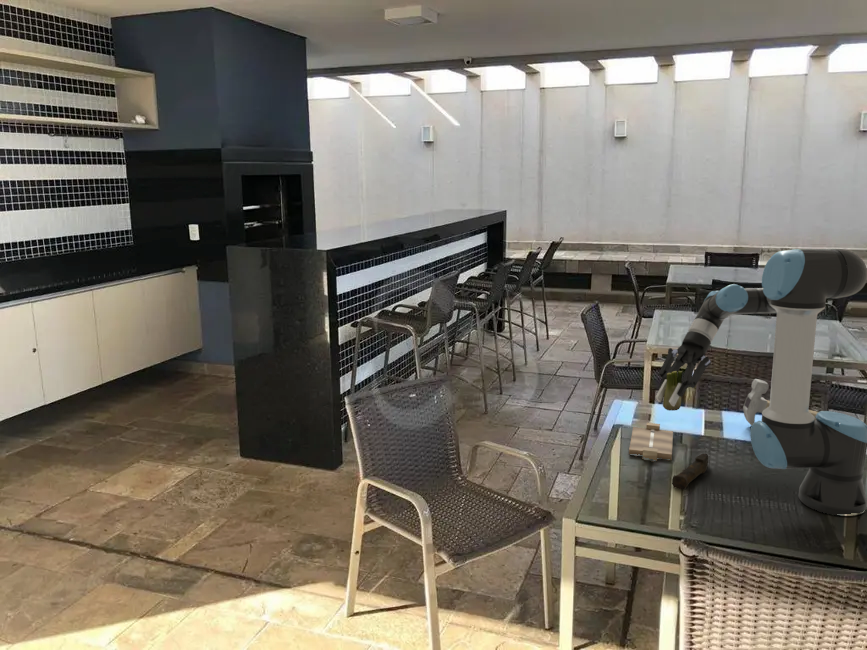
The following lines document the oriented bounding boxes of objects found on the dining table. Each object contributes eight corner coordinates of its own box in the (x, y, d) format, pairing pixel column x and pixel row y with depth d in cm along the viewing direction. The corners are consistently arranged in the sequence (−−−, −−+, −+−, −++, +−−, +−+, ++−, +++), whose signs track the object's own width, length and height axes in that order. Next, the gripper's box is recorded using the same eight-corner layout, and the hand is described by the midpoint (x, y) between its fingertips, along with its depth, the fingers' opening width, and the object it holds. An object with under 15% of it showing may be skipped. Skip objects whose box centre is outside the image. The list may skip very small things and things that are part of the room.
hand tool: (685, 492, 186) (686, 476, 184) (670, 487, 188) (672, 471, 187) (716, 469, 198) (717, 454, 197) (702, 465, 201) (704, 450, 200)
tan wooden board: (671, 463, 202) (672, 453, 201) (628, 458, 206) (628, 448, 205) (672, 434, 222) (673, 425, 221) (633, 430, 226) (633, 421, 225)
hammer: (844, 398, 224) (752, 377, 225) (851, 403, 220) (757, 382, 220) (826, 442, 228) (736, 421, 229) (833, 448, 224) (741, 427, 224)
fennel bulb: (678, 406, 212) (681, 368, 208) (684, 412, 207) (687, 374, 204) (659, 406, 212) (662, 369, 209) (664, 412, 207) (667, 374, 204)
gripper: (729, 349, 208) (695, 416, 202) (678, 338, 221) (644, 400, 215) (722, 336, 203) (686, 403, 198) (670, 325, 216) (635, 388, 210)
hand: (664, 401), depth 206 cm, fingers closed on fennel bulb, 4 cm apart
